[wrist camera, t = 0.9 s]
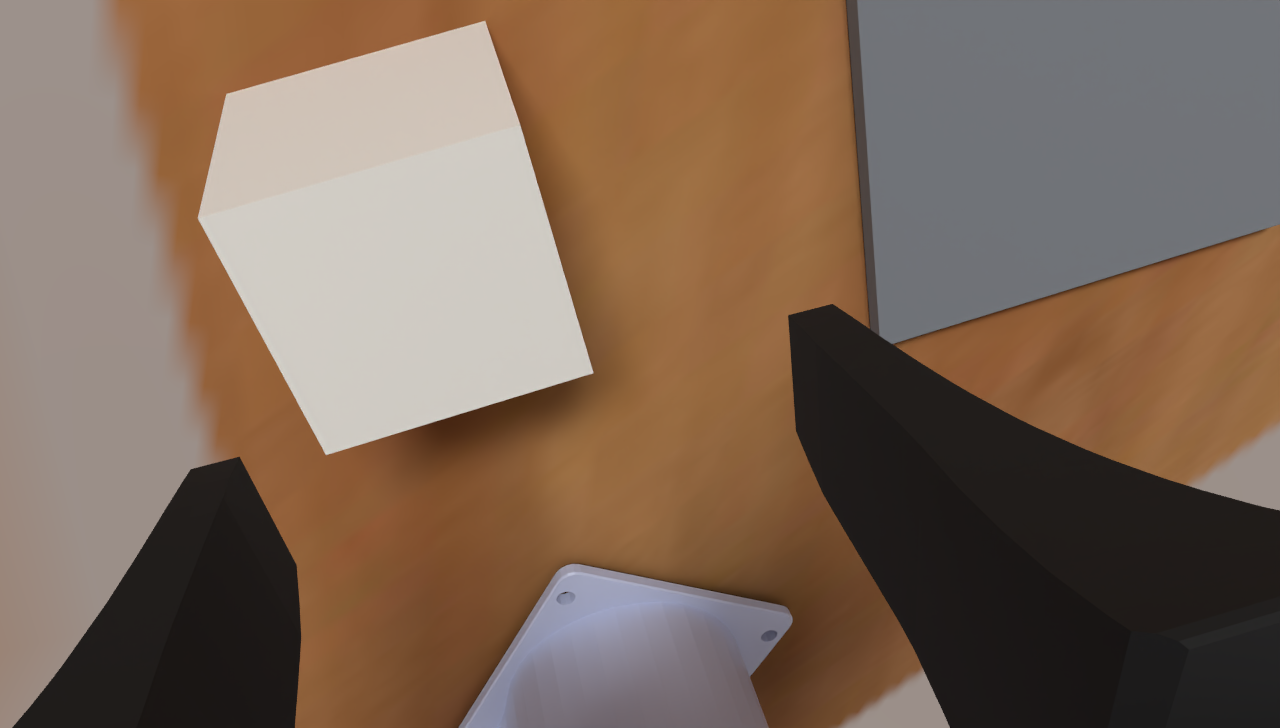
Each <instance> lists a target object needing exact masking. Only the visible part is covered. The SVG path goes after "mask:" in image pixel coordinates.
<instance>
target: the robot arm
mask: <svg viewBox="0 0 1280 728" xmlns="http://www.w3.org/2000/svg"><path fill="white" fill-rule="evenodd" d="M788 318H789V333H790V348H791V362H792V377H793V392H794V407H795V421H796V432H797V434H798V437H799V439H800V441H801V444H802V446H803V449H804V451H805V453H806V456H807V458H808V461H809V463H810V465H811V468H812V470H813V472H814V474H815V477H816V479H817V481H818V483H819V486H820V488H821V490H822V492H823V494H824V496H825V498H826V500H827V501H828V503H829V505H830V506H831V508H832V510H833V512H834V513H835V515H836V517H837V518H838V520H839V522H840V523H841V525H842V527H843V529H844V530H845V532H846V534H847V535H848V537H849V539H850V540H851V542H852V544H853V545H854V547H855V549H856V550H857V552H858V554H859V555H860V557H861V559H862V560H863V562H864V564H865V565H866V567H867V569H868V570H869V572H870V574H871V576H872V577H873V579H874V581H875V582H876V584H877V586H878V587H879V589H880V591H881V592H882V594H883V596H884V597H885V599H886V601H887V602H888V604H889V606H890V607H891V609H892V611H893V612H894V614H895V616H896V617H897V619H898V621H899V622H900V624H901V626H902V628H903V630H904V632H905V633H906V635H907V637H908V639H909V641H910V643H911V645H912V646H913V648H914V650H915V652H916V654H917V656H918V659H919V661H920V663H921V665H922V667H923V669H924V672H925V674H926V676H927V678H928V680H929V682H930V685H931V687H932V689H933V691H934V693H935V695H936V698H937V699H938V702H939V704H940V706H941V708H942V710H943V713H944V715H945V717H946V719H947V721H948V724H949V726H950V728H1280V511H1279V510H1274V509H1270V508H1265V507H1261V506H1257V505H1253V504H1250V503H1246V502H1242V501H1239V500H1235V499H1232V498H1228V497H1224V496H1221V495H1217V494H1214V493H1210V492H1206V491H1202V490H1199V489H1196V488H1193V487H1190V486H1186V485H1183V484H1180V483H1177V482H1173V481H1170V480H1167V479H1164V478H1161V477H1158V476H1155V475H1153V474H1150V473H1147V472H1144V471H1141V470H1139V469H1136V468H1133V467H1130V466H1127V465H1125V464H1122V463H1119V462H1116V461H1113V460H1111V459H1108V458H1106V457H1103V456H1101V455H1098V454H1095V453H1093V452H1090V451H1088V450H1085V449H1083V448H1081V447H1078V446H1076V445H1074V444H1072V443H1069V442H1067V441H1065V440H1063V439H1060V438H1058V437H1056V436H1054V435H1051V434H1049V433H1047V432H1045V431H1042V430H1040V429H1038V428H1036V427H1034V426H1032V425H1030V424H1028V423H1026V422H1024V421H1022V420H1019V419H1017V418H1015V417H1013V416H1012V415H1010V414H1008V413H1006V412H1004V411H1002V410H1000V409H999V408H997V407H995V406H993V405H991V404H989V403H987V402H986V401H984V400H982V399H980V398H978V397H976V396H974V395H973V394H971V393H969V392H967V391H966V390H964V389H962V388H961V387H959V386H957V385H955V384H954V383H952V382H950V381H949V380H947V379H946V378H944V377H942V376H941V375H939V374H938V373H936V372H934V371H933V370H931V369H929V368H928V367H926V366H925V365H923V364H921V363H920V362H918V361H917V360H915V359H914V358H912V357H911V356H909V355H908V354H906V353H905V352H903V351H902V350H900V349H899V348H897V347H896V346H894V345H893V344H891V343H890V342H888V341H887V340H885V339H884V338H882V337H881V336H879V335H878V334H876V333H875V332H873V331H872V330H870V329H869V328H867V327H866V326H864V325H863V324H862V323H860V322H859V321H857V320H856V319H854V318H853V317H851V316H850V315H848V314H847V313H845V312H844V311H842V310H841V309H839V308H838V307H836V306H835V305H833V304H831V305H827V306H823V307H819V308H815V309H811V310H807V311H803V312H800V313H796V314H792V315H788ZM563 592H568V593H565V594H561V593H563ZM792 622H793V618H792V616H791V614H790V611H789V610H788V608H787V607H785V606H782V605H777V604H773V603H768V602H763V601H758V600H753V599H748V598H743V597H738V596H733V595H728V594H723V593H719V592H714V591H709V590H704V589H699V588H694V587H689V586H684V585H679V584H674V583H669V582H664V581H660V580H655V579H650V578H645V577H640V576H635V575H630V574H625V573H620V572H615V571H610V570H606V569H601V568H596V567H591V566H586V565H581V564H570V565H566V566H564V567H562V568H560V569H559V570H558V571H557V572H556V573H555V575H554V577H553V578H552V580H551V581H550V583H549V585H548V586H547V588H546V589H545V591H544V593H543V594H542V596H541V597H540V599H539V600H538V602H537V604H536V605H535V607H534V608H533V610H532V612H531V613H530V615H529V616H528V618H527V620H526V621H525V623H524V624H523V626H522V628H521V629H520V631H519V632H518V634H517V635H516V637H515V639H514V640H513V642H512V643H511V645H510V647H509V648H508V650H507V651H506V653H505V655H504V656H503V658H502V659H501V661H500V662H499V664H498V666H497V667H496V669H495V670H494V672H493V674H492V675H491V677H490V678H489V680H488V682H487V683H486V685H485V686H484V688H483V689H482V691H481V693H480V694H479V696H478V697H477V699H476V701H475V702H474V704H473V705H472V707H471V709H470V710H469V712H468V713H467V715H466V717H465V718H464V720H463V721H462V723H461V724H460V726H459V728H769V727H768V724H767V722H766V719H765V716H764V714H763V711H762V708H761V706H760V703H759V700H758V698H757V695H756V692H755V690H754V687H753V685H752V682H751V679H750V676H751V675H752V674H753V672H754V671H755V670H756V669H757V667H758V666H759V665H760V664H761V662H762V661H763V660H764V659H765V657H766V656H767V655H768V654H769V652H770V651H771V650H772V649H773V647H774V646H775V645H776V644H777V642H778V641H779V640H780V639H781V637H782V636H783V635H784V634H785V632H786V631H787V630H788V629H789V627H790V626H791V624H792ZM300 647H301V625H300V605H299V592H298V579H297V566H296V563H295V561H294V560H293V558H292V556H291V554H290V552H289V550H288V548H287V546H286V544H285V542H284V541H283V539H282V537H281V535H280V533H279V531H278V529H277V527H276V525H275V523H274V522H273V520H272V518H271V516H270V514H269V512H268V510H267V508H266V506H265V504H264V503H263V501H262V499H261V497H260V495H259V493H258V491H257V489H256V487H255V485H254V484H253V482H252V480H251V478H250V476H249V474H248V472H247V470H246V468H245V466H244V465H243V463H242V461H241V459H240V457H237V458H233V459H229V460H225V461H221V462H218V463H214V464H210V465H206V466H202V467H198V468H194V469H191V470H190V472H189V473H188V474H187V476H186V478H185V479H184V481H183V482H182V484H181V485H180V487H179V489H178V490H177V492H176V493H175V495H174V497H173V498H172V500H171V502H170V503H169V505H168V506H167V508H166V509H165V511H164V513H163V514H162V516H161V518H160V519H159V521H158V523H157V524H156V526H155V527H154V529H153V531H152V532H151V534H150V536H149V537H148V539H147V540H146V542H145V544H144V545H143V547H142V549H141V550H140V552H139V554H138V555H137V557H136V558H135V560H134V562H133V563H132V565H131V566H130V568H129V569H128V571H127V572H126V574H125V575H124V577H123V578H122V580H121V582H120V583H119V585H118V586H117V588H116V590H115V591H114V592H113V594H112V596H111V597H110V599H109V600H108V602H107V603H106V605H105V606H104V608H103V609H102V611H101V612H100V613H99V615H98V616H97V618H96V619H95V620H94V622H93V623H92V625H91V626H90V627H89V629H88V630H87V632H86V633H85V634H84V636H83V637H82V639H81V640H80V642H79V643H78V645H77V646H76V647H75V649H74V650H73V652H72V653H71V654H70V656H69V657H68V659H67V660H66V661H65V663H64V664H63V665H62V667H61V668H60V669H59V671H58V672H57V673H56V675H55V676H54V677H53V679H52V680H51V681H50V682H49V684H48V685H47V686H46V688H45V689H44V690H43V691H42V693H41V694H40V695H39V696H38V698H37V699H36V700H35V701H34V703H33V704H32V705H31V706H30V708H29V709H28V710H27V711H26V712H25V713H24V715H23V716H22V717H21V718H20V719H19V721H18V722H17V723H16V724H15V725H14V726H13V728H295V716H296V704H297V690H298V676H299V662H300Z"/></svg>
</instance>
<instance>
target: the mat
mask: <svg viewBox="0 0 1280 728" xmlns="http://www.w3.org/2000/svg"><path fill="white" fill-rule="evenodd" d="M846 3H847V17H848V31H849V44H850V58H851V71H852V85H853V99H854V112H855V126H856V139H857V153H858V167H859V180H860V194H861V208H862V221H863V235H864V248H865V262H866V276H867V289H868V303H869V317H870V330H872V331H873V332H875V333H876V334H878V335H879V336H881V337H882V338H884V339H885V340H887V341H888V342H890V343H891V344H894V343H897V342H900V341H903V340H907V339H910V338H913V337H916V336H920V335H923V334H926V333H929V332H933V331H936V330H939V329H942V328H946V327H949V326H952V325H955V324H959V323H962V322H965V321H968V320H971V319H975V318H978V317H981V316H984V315H988V314H991V313H994V312H997V311H1001V310H1004V309H1007V308H1010V307H1014V306H1017V305H1020V304H1023V303H1026V302H1030V301H1033V300H1036V299H1039V298H1043V297H1046V296H1049V295H1052V294H1056V293H1059V292H1062V291H1065V290H1069V289H1072V288H1075V287H1078V286H1081V285H1085V284H1088V283H1091V282H1094V281H1098V280H1101V279H1104V278H1107V277H1111V276H1114V275H1117V274H1120V273H1124V272H1127V271H1130V270H1133V269H1137V268H1140V267H1143V266H1146V265H1149V264H1153V263H1156V262H1159V261H1162V260H1166V259H1169V258H1172V257H1175V256H1179V255H1182V254H1185V253H1188V252H1192V251H1195V250H1198V249H1201V248H1204V247H1208V246H1211V245H1214V244H1217V243H1221V242H1224V241H1227V240H1230V239H1234V238H1237V237H1240V236H1243V235H1247V234H1250V233H1253V232H1256V231H1260V230H1263V229H1266V228H1269V227H1272V226H1276V225H1279V224H1280V0H846Z"/></svg>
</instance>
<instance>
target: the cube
mask: <svg viewBox="0 0 1280 728" xmlns="http://www.w3.org/2000/svg"><path fill="white" fill-rule="evenodd" d="M198 219H199V221H200V223H201V225H202V227H203V229H204V230H205V232H206V234H207V236H208V238H209V240H210V242H211V243H212V245H213V247H214V249H215V251H216V253H217V254H218V256H219V258H220V260H221V262H222V264H223V266H224V267H225V269H226V271H227V273H228V275H229V277H230V278H231V280H232V282H233V284H234V286H235V288H236V290H237V291H238V293H239V295H240V297H241V299H242V301H243V302H244V304H245V306H246V308H247V310H248V312H249V314H250V315H251V317H252V319H253V321H254V323H255V325H256V326H257V328H258V330H259V332H260V334H261V336H262V338H263V339H264V341H265V343H266V345H267V347H268V349H269V350H270V352H271V354H272V356H273V358H274V360H275V362H276V363H277V365H278V367H279V369H280V371H281V373H282V374H283V376H284V378H285V380H286V382H287V384H288V386H289V387H290V389H291V391H292V393H293V395H294V397H295V398H296V400H297V402H298V404H299V406H300V408H301V410H302V411H303V413H304V415H305V417H306V419H307V421H308V422H309V424H310V426H311V428H312V430H313V432H314V434H315V435H316V437H317V439H318V441H319V443H320V445H321V446H322V448H323V450H324V452H325V454H326V455H328V454H331V453H334V452H337V451H341V450H344V449H347V448H351V447H354V446H357V445H360V444H364V443H367V442H370V441H373V440H377V439H380V438H383V437H387V436H390V435H393V434H396V433H400V432H403V431H406V430H409V429H413V428H416V427H419V426H422V425H426V424H429V423H432V422H436V421H439V420H442V419H445V418H449V417H452V416H455V415H458V414H462V413H465V412H468V411H471V410H475V409H478V408H481V407H485V406H488V405H491V404H494V403H498V402H501V401H504V400H507V399H511V398H514V397H517V396H520V395H524V394H527V393H530V392H534V391H537V390H540V389H543V388H547V387H550V386H553V385H556V384H560V383H563V382H566V381H569V380H573V379H576V378H579V377H583V376H586V375H589V374H592V373H593V370H592V367H591V363H590V360H589V356H588V353H587V350H586V346H585V343H584V339H583V336H582V333H581V329H580V326H579V323H578V319H577V316H576V312H575V309H574V306H573V302H572V299H571V295H570V292H569V289H568V285H567V282H566V279H565V275H564V272H563V268H562V265H561V262H560V258H559V255H558V251H557V248H556V245H555V241H554V238H553V234H552V231H551V228H550V224H549V221H548V218H547V214H546V211H545V207H544V204H543V201H542V197H541V194H540V190H539V187H538V184H537V180H536V177H535V174H534V170H533V167H532V163H531V160H530V157H529V153H528V150H527V146H526V143H525V140H524V136H523V133H522V130H521V126H520V123H519V120H518V117H517V114H516V111H515V108H514V105H513V102H512V99H511V96H510V93H509V90H508V87H507V85H506V82H505V79H504V76H503V73H502V70H501V67H500V64H499V61H498V58H497V55H496V52H495V49H494V46H493V43H492V40H491V37H490V34H489V31H488V28H487V25H486V22H485V21H483V22H479V23H476V24H472V25H469V26H465V27H462V28H458V29H455V30H451V31H448V32H444V33H441V34H437V35H434V36H430V37H426V38H423V39H419V40H416V41H412V42H409V43H405V44H402V45H398V46H395V47H391V48H388V49H384V50H381V51H377V52H373V53H370V54H366V55H363V56H359V57H356V58H352V59H349V60H345V61H342V62H338V63H335V64H331V65H328V66H324V67H321V68H317V69H313V70H310V71H306V72H303V73H299V74H296V75H292V76H289V77H285V78H282V79H278V80H275V81H271V82H268V83H264V84H261V85H257V86H253V87H250V88H246V89H243V90H239V91H236V92H232V93H229V94H226V98H225V103H224V107H223V111H222V116H221V120H220V124H219V129H218V133H217V137H216V142H215V146H214V151H213V155H212V159H211V164H210V168H209V172H208V177H207V181H206V185H205V190H204V194H203V198H202V203H201V207H200V211H199V216H198Z"/></svg>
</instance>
